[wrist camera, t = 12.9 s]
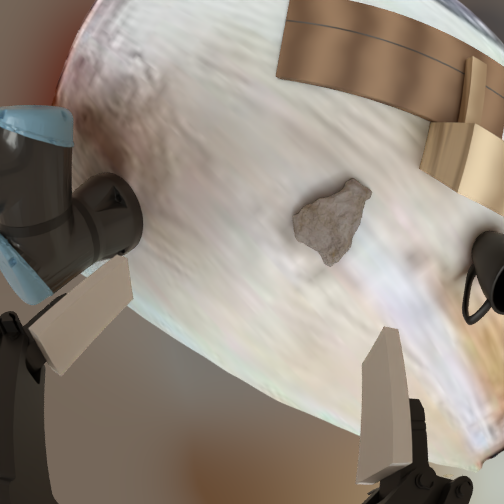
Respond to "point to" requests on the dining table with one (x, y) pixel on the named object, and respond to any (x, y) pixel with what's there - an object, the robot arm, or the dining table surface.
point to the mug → (486, 275)
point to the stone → (332, 221)
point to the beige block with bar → (468, 147)
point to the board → (385, 60)
